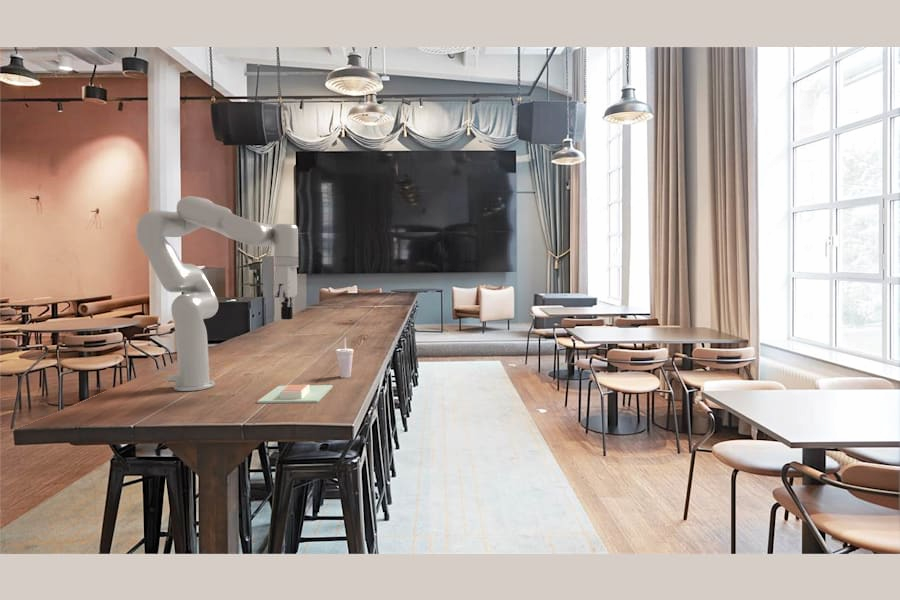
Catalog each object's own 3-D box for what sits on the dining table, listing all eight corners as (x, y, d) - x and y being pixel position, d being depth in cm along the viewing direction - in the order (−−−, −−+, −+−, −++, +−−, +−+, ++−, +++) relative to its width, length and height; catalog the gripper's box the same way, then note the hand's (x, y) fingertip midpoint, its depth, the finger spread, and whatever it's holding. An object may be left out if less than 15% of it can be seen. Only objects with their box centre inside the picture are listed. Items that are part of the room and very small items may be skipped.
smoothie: (342, 379, 203) (340, 339, 202) (333, 376, 208) (331, 337, 207) (357, 376, 207) (356, 337, 206) (348, 373, 212) (347, 335, 211)
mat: (257, 403, 172) (257, 401, 172) (278, 387, 192) (278, 385, 192) (317, 402, 172) (317, 400, 172) (332, 386, 192) (332, 385, 192)
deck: (289, 391, 183) (280, 398, 174) (289, 384, 183) (280, 391, 174) (309, 391, 183) (301, 398, 174) (309, 384, 183) (301, 390, 174)
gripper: (283, 261, 195) (283, 316, 197) (266, 262, 180) (267, 321, 182) (305, 262, 195) (305, 316, 196) (290, 263, 180) (290, 322, 181)
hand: (286, 318), depth 189 cm, fingers closed
